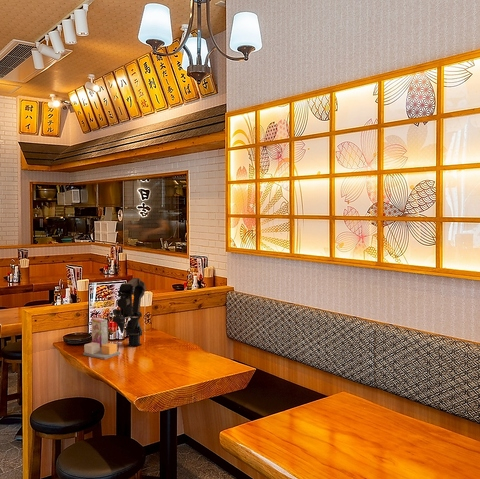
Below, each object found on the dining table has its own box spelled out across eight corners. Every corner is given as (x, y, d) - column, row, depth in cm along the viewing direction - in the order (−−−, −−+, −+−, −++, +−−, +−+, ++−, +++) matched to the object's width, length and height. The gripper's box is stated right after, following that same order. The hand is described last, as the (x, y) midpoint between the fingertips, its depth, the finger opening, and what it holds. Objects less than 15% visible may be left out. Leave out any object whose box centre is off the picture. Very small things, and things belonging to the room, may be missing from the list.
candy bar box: (91, 344, 307) (90, 318, 306) (98, 343, 310) (98, 317, 309) (101, 348, 299) (100, 321, 298) (108, 346, 303) (108, 319, 302)
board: (98, 349, 295) (98, 340, 295) (120, 354, 287) (119, 344, 286) (83, 355, 285) (83, 345, 285) (104, 359, 277) (104, 349, 276)
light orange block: (117, 351, 287) (116, 344, 286) (109, 354, 282) (109, 346, 281) (109, 350, 290) (109, 342, 289) (101, 353, 285) (101, 345, 284)
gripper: (128, 301, 302) (128, 326, 303) (105, 306, 286) (105, 333, 287) (142, 302, 296) (142, 328, 297) (119, 308, 280) (120, 335, 281)
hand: (127, 331), depth 291 cm, fingers open, 9 cm apart
